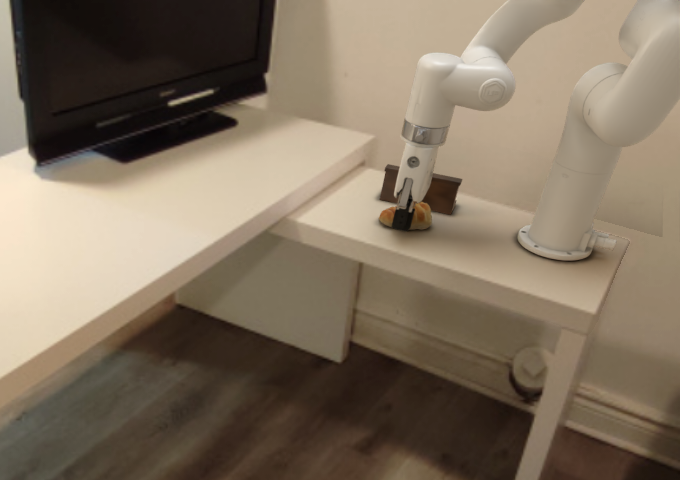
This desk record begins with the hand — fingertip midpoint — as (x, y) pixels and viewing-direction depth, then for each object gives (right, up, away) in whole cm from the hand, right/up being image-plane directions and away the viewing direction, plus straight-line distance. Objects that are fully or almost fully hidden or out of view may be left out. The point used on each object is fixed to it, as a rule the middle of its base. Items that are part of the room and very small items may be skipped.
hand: (400, 227), depth 147 cm
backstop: (+7, +7, +11) cm, 15 cm away
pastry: (+2, +2, +4) cm, 5 cm away
